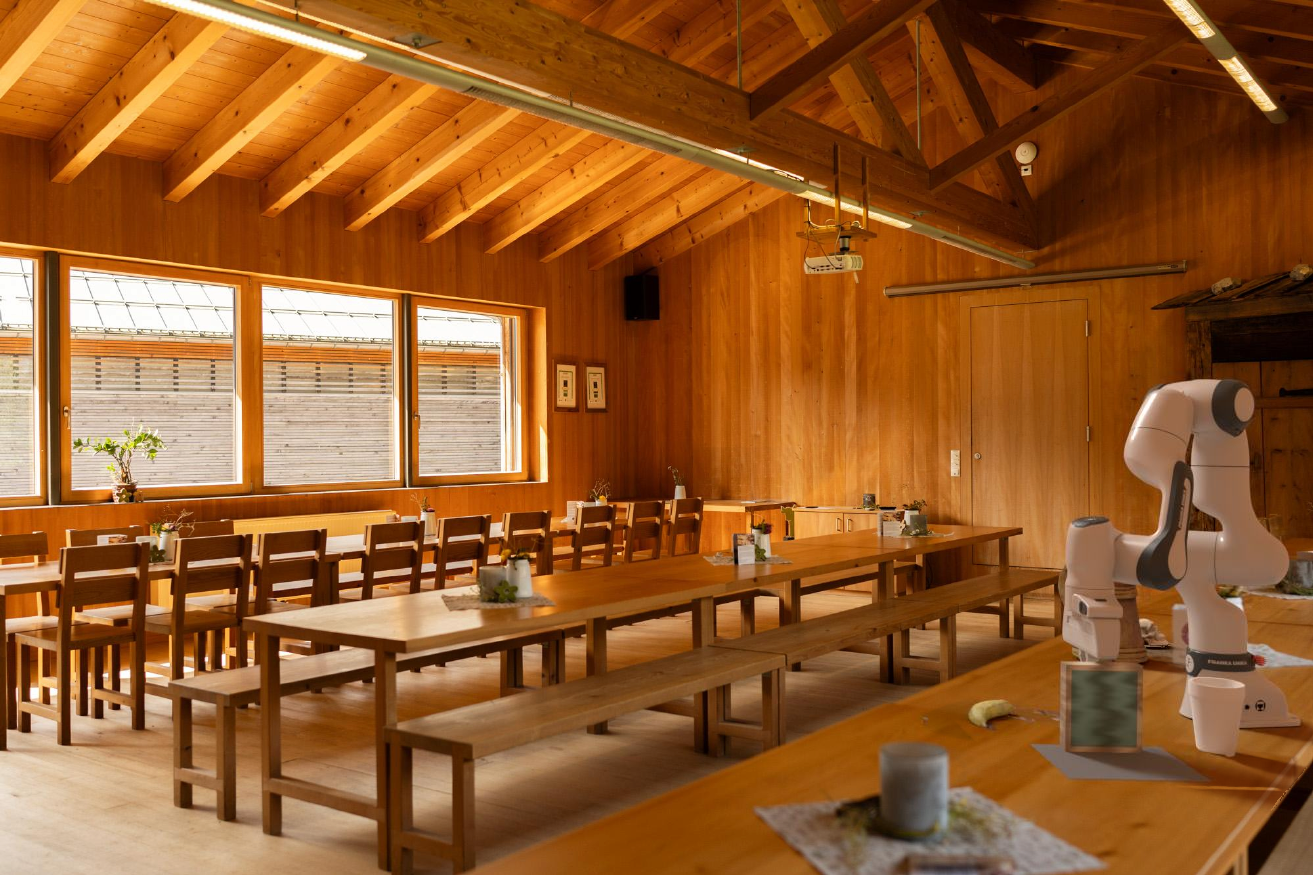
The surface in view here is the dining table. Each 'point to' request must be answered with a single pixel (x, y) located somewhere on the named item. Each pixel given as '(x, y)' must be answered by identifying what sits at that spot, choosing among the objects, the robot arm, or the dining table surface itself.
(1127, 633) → the tankard
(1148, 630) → the skull
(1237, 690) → the foam cup
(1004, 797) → the dining table surface
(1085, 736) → the table sign
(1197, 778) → the mat
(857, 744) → the dining table surface
